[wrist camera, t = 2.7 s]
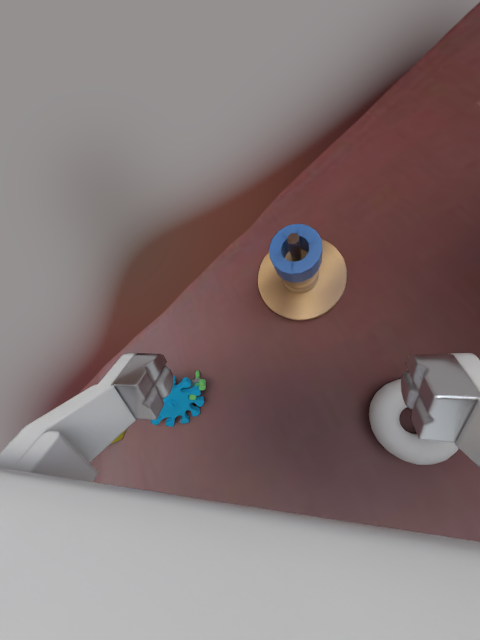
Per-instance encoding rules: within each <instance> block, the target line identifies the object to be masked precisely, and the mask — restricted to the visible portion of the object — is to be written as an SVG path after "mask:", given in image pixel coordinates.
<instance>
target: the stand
mask: <svg viewBox="0 0 480 640" xmlns="http://www.w3.org/2000/svg"><path fill="white" fill-rule="evenodd" d="M287 241H288V245H289V250H290V251H289V252H288V253H287V255H286V257H285V259H286V260H288V261H292V262H296V261H300V260H302V259H304V257H305V256H306V255H307V254H308V252H307V251H305V250H304V249H301V248H300V241H299V236H298V234H296V233H291V234H290V235H289V236H288V237H287ZM322 249H323V250H322V262H321V265H320V268H319V270H318V271H317V273H316V274H315V275H314V276H313V277H312V278H310V279H308V280H306V281H304V282H297V283H292V282H289V281H285V280H284V279H283V278H281V277H280V276H279V275H278V274H277V272H276V270H275V268H274V266H273V264H272V262H271V259H270V257H269V252H268V254H267V255H266V256H265V258H264V259H263V261H262V263H261V266H260V269H259V273H258V287H259V291H260V294H261V296H262V298H263V300H264V302H265V303H266V304H267V306H268V307H269V308H270V309H271V310H272V311H274V312H275V313H276V314H278V315H279V316H282V317H284V318H287V319H290V320H296V321H304V320H311V319H314V318H317V317H320V316H322V315H324V314H325V313H327V312H328V311H330V310H331V309H332V308H333V307H334V306H335V305H336V304H337V302H338V301H339V300H340V298H341V296H342V294H343V292H344V289H345V286H346V281H347V269H346V265H345V262H344V259H343V257H342V256H341V254H340V252H339V251H338V250H337V249H336V248H335V247H334V246H333V245H332V244H330V243H329V242H327V241H325V240H323V239H322Z"/></svg>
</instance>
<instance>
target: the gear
mask: <svg viewBox="0 0 480 640" xmlns="http://www.w3.org/2000/svg"><path fill="white" fill-rule="evenodd" d="M173 380H174V381H173V387H172V390H171V392H170V394H169V395H168V396H167V397H165V398H164V399H163V401H164V406H163V408H162V410H161V412H160V414H159V416H158V418H157V419H156V420H151V423H153V424H154V425H158V424H159V422H160V421H161V420H162V419H164V418H166V417H169V418H167V419H166V426H170V427H173V426H174V422H175V418H176V417H177V416H179V415H181V423H182V424H184V423H188V422H189V416H188V415H187V414H186V412H185V411H187V410H190V411H191V412H192V416H194V417H195V416H197V415H199V414H200V408H199V407H201V406H203V404H204V397H202V396H200V397H196V396H199V395H201V390H205V389H206V381H205V380H204V379H200V371H198V370H197V371H195V379H194V380H190V379H188V378H187V377H185V378H183V379H182V381H181V382H180V383H179V384H177V385H176V378H175V376H174V375H173ZM191 403H195V404H196V405H197V406H199V407H195V406H193V405H192V404H191Z"/></svg>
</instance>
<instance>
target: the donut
mask: <svg viewBox="0 0 480 640" xmlns="http://www.w3.org/2000/svg"><path fill="white" fill-rule="evenodd" d="M406 407H407V406H406V405H405V403H404V400H403V397H402V393H401V379H398V380H395V381H393V382H390V383H388V384H385V385H384V386H383V387H382V388H381V389H380V390H378V391H377V392H376V394H375V396H374V397H373V399H372V401H371V403H370V410H369V418H370V424H371V429H372V431H373V432H374V434H375V436H376V438H377V440H378V441H379V442H380V443H381V445H382V446H383V447H384V448H385V449H386V450H387V451H388V452H390V453H392V454H393V455H395V456H397V457H398V458H400V459H402V460H403V461H407V462H410V463H414V464H418V465H432V464H436V463H439V462H442V461H445V460H447V459H448V458H449V457H451V456H452V455H453V454H454V453H456V452H457V451H458V449H459V448H458V447H457V446H456V445H455V443H451V442H441V441H431V440H421V439H419V438H418V435H417V434H412V433H409V432H407V431H405V430H404V429H403V428H402V426H401V425H400V421H399V416H400V413H401V411H402V410H403V409H405V408H406Z"/></svg>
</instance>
